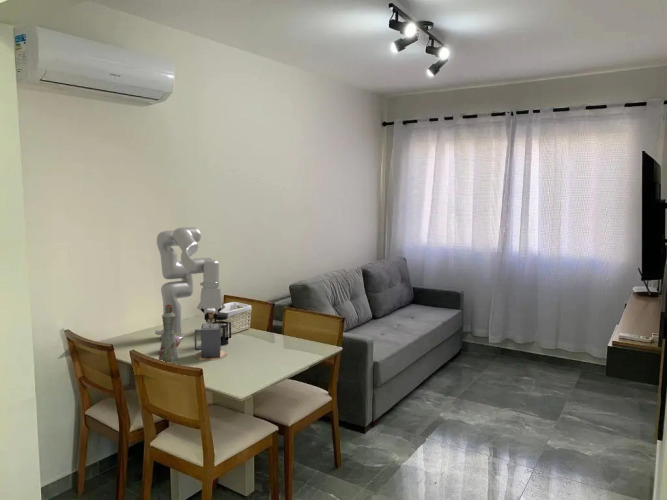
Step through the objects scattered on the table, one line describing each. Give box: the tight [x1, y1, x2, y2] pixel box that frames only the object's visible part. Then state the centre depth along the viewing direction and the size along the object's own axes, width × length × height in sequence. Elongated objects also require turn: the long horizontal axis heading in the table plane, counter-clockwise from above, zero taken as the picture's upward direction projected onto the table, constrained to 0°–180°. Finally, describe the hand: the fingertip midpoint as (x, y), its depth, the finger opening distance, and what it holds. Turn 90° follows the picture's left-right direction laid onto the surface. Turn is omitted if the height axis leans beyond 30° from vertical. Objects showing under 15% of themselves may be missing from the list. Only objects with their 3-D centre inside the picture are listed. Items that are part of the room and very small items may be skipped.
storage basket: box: [206, 301, 253, 336], centre depth 299 cm, size 24×16×15 cm
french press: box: [212, 302, 232, 347], centre depth 272 cm, size 12×9×23 cm
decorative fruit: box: [174, 333, 181, 349], centre depth 261 cm, size 9×8×10 cm
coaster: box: [194, 350, 228, 362], centre depth 254 cm, size 16×16×1 cm
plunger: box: [207, 312, 215, 327], centre depth 253 cm, size 6×6×19 cm
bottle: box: [158, 305, 179, 363], centre depth 245 cm, size 9×9×28 cm
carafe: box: [194, 323, 222, 358], centre depth 253 cm, size 12×9×15 cm
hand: (211, 320), depth 252 cm, fingers closed on plunger, 3 cm apart
